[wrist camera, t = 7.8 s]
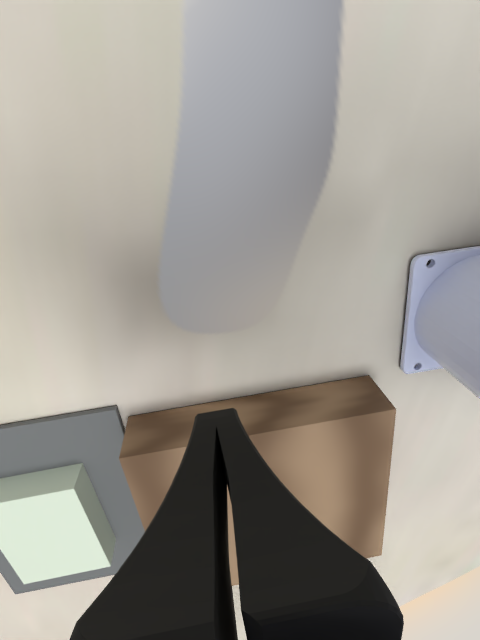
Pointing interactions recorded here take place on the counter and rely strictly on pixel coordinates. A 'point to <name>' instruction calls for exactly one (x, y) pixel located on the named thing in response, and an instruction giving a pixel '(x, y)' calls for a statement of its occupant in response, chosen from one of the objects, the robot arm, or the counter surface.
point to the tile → (53, 524)
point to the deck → (286, 454)
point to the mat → (100, 464)
